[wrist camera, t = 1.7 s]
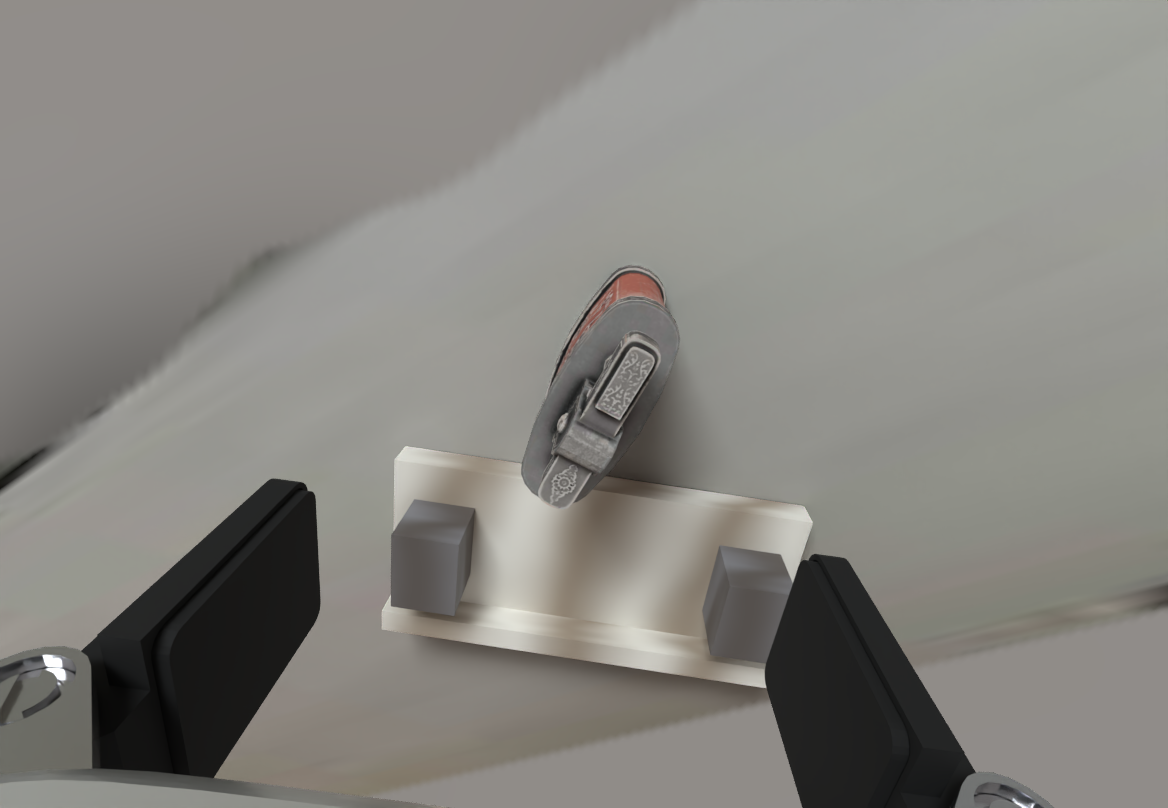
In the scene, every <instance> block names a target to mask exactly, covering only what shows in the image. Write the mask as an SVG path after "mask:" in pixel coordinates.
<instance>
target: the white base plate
mask: <svg viewBox="0 0 1168 808" xmlns="http://www.w3.org/2000/svg"><path fill="white" fill-rule="evenodd" d="M521 465H522V463H515V462H508V461H502V460H495V459H488V458H482V457H475V456H468V455H462V454H455V453H448V452H442V451H435V450H429V449H422V448H415V447H409V446H405V447H404V449H403V450H402V451H401V452H400V454H399V455H398V456H397V457H396V459H395V468H394V532H393V533H392V535H391V595H390V597H389V599H388V601H387V602H386V604H385V606H384V608H383V610H382V629H383V630H389V631H396V632H402V633H409V634H415V635H422V636H428V637H435V638H441V639H448V640H454V641H461V642H467V643H474V644H480V645H487V646H493V647H500V648H507V649H513V650H520V651H526V652H533V653H539V654H546V655H552V656H559V657H565V658H572V659H578V660H585V661H591V662H598V663H604V664H611V665H618V666H624V667H631V668H637V669H644V670H650V671H657V672H663V673H670V674H676V675H683V676H689V677H696V678H702V679H709V680H715V681H722V682H729V683H735V684H742V685H748V686H755V687H761V688H766V684H765V666H766V662H767V659H768V656H769V653H770V650H771V647H772V644H773V641H774V638H775V635H776V632H777V629H778V626H779V623H780V620H781V617H782V614H783V611H784V608H785V605H786V602H787V599H788V596H789V593H790V591H791V588H792V585H793V581H794V578H795V575H796V572H797V569H798V566H799V563H800V560H801V557H802V554H803V551H804V548H805V545H806V542H807V539H808V536H809V533H810V530H811V527H812V524H813V522H812V520H811V518H810V516H809V515H808V513H807V511H806V509H805V507H804V506H801V505H794V504H788V503H781V502H774V501H768V500H761V499H754V498H748V497H741V496H735V495H728V494H721V493H715V492H708V491H701V490H695V489H688V488H681V487H675V486H668V485H661V484H655V483H648V482H641V481H635V480H628V479H621V478H615V477H608V476H605V477H604V478H603V479H602V480H601V481H600V482H599V483H598V484H597V485H596V486H595V487H594V488H593V490H592V491H591V492H590V493H589V494H588V495H587V496H586V497H584V498H583V499H581V500H580V501H578V502H575V503H573V504H572V505H571V506H570V507H568V508H566V509H556V508H554V507H551V506H549V505H547V504H546V503H544V502H543V501H541V499H540V498H539V497H538V496H536V495H535V494H533V493H532V492H531V491H530V490H529V488H528V487H527V486H526V485H525V483H524V481H523V478H522V475H521Z"/></svg>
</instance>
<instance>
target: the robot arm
mask: <svg viewBox="0 0 1168 808" xmlns="http://www.w3.org/2000/svg"><path fill="white" fill-rule="evenodd" d="M319 610H320V582H319V561H318V540H317V519H316V499H315V495H314V493H313V492H311V491H307V487H306V485H305V484H304V483H303V482H295V481H288V480H281V479H270V480H269V481H267V482H266V483H265V484H264V485H263V486H262V487H261V488H259V489H258V490H257V491H256V492H255V493H254V494H253V495H252V496H251V497H249V498H248V499H247V500H246V501H245V502H244V503H243V504H242V505H241V506H239V507H238V508H237V509H236V510H235V511H234V512H233V513H232V514H231V515H230V516H228V517H227V518H226V519H225V520H224V521H223V522H222V523H221V524H220V525H218V526H217V527H216V528H215V529H214V530H213V531H212V532H211V533H210V534H209V535H207V536H206V537H205V538H204V539H203V540H202V541H201V542H200V543H199V544H197V545H196V546H195V547H194V548H193V549H192V550H191V551H190V552H189V553H188V554H186V555H185V556H184V557H183V558H182V559H181V560H180V561H179V562H178V563H176V564H175V565H174V566H173V567H172V568H171V569H170V570H169V571H168V572H166V573H165V574H164V575H163V576H162V577H161V578H160V579H159V580H158V581H157V582H155V583H154V584H153V585H152V586H151V587H150V588H149V589H148V590H147V591H145V592H144V593H143V594H142V595H141V596H140V597H139V598H138V599H137V600H136V601H134V602H133V603H132V604H131V605H130V606H129V607H128V608H127V609H126V610H124V611H123V612H122V613H121V614H120V615H119V616H118V617H117V618H116V619H115V620H113V621H112V622H111V623H110V624H109V625H108V626H107V627H106V628H105V629H103V630H102V631H101V632H100V633H99V634H98V635H97V637H96V638H95V639H94V640H93V641H92V642H91V643H90V644H88V645H87V646H86V647H85V648H84V649H83V650H82V651H80V650H78V649H74V648H69V647H65V646H56V647H42V648H37V649H32V650H28V651H23V652H20V653H18V654H15V655H12V656H9V657H7V658H4V659H1V660H0V808H447V807H441V806H433V805H425V804H418V803H410V802H402V801H395V800H386V799H379V798H371V797H363V796H356V795H348V794H340V793H332V792H324V791H316V790H309V789H301V788H293V787H285V786H277V785H269V784H262V783H253V782H244V781H235V780H225V779H216V778H214V776H215V775H216V773H217V772H218V770H219V769H220V767H221V765H222V764H223V762H224V761H225V759H226V758H227V756H228V755H229V753H230V752H231V750H232V749H233V747H234V746H235V744H236V743H237V741H238V740H239V738H240V736H241V735H242V733H243V732H244V730H245V729H246V727H247V726H248V724H249V723H250V721H251V720H252V718H253V717H254V715H255V714H256V712H257V710H258V709H259V707H260V706H261V704H262V703H263V701H264V700H265V698H266V697H267V695H268V694H269V692H270V691H271V689H272V688H273V686H274V685H275V683H276V681H277V680H278V678H279V677H280V675H281V674H282V672H283V671H284V669H285V668H286V666H287V665H288V663H289V662H290V660H291V659H292V657H293V656H294V654H295V652H296V651H297V649H298V648H299V646H300V645H301V643H302V642H303V640H304V639H305V637H306V636H307V634H308V633H309V631H310V630H311V628H312V627H313V625H314V623H315V621H316V619H317V617H318V614H319ZM765 684H766V688H767V691H768V694H769V698H770V701H771V704H772V707H773V711H774V714H775V717H776V721H777V724H778V728H779V731H780V734H781V737H782V741H783V744H784V747H785V751H786V754H787V757H788V760H789V764H790V767H791V771H792V774H793V777H794V781H795V784H796V787H797V791H798V794H799V797H800V801H801V804H802V807H803V808H1054V807H1053V806H1052V805H1051V804H1050V803H1049V802H1048V801H1046V800H1045V799H1044V798H1042V797H1041V796H1039V795H1038V794H1037V793H1035V792H1034V791H1033V790H1031V789H1030V788H1028V787H1026V786H1024V785H1022V784H1021V783H1019V782H1017V781H1015V780H1013V779H1011V778H1009V777H1005V776H1002V775H999V774H996V773H991V772H977V773H976V772H975V770H974V769H973V767H972V766H971V764H970V762H969V761H968V759H967V757H966V756H965V754H964V751H963V750H962V748H961V746H960V745H959V743H958V741H957V740H956V738H955V736H954V735H953V733H952V731H951V730H950V728H949V726H948V725H947V723H946V722H945V720H944V718H943V717H942V715H941V713H940V712H939V710H938V708H937V707H936V705H935V703H934V702H933V700H932V698H931V697H930V695H929V694H928V692H927V690H926V689H925V687H924V685H923V684H922V682H921V680H920V679H919V677H918V675H917V674H916V672H915V670H914V669H913V667H912V666H911V664H910V662H909V661H908V659H907V657H906V656H905V654H904V652H903V651H902V649H901V647H900V646H899V644H898V642H897V641H896V639H895V638H894V636H893V634H892V633H891V631H890V629H889V628H888V626H887V624H886V623H885V621H884V619H883V618H882V616H881V614H880V613H879V611H878V610H877V608H876V606H875V605H874V603H873V601H872V600H871V598H870V596H869V595H868V593H867V591H866V590H865V588H864V586H863V585H862V583H861V582H860V580H859V578H858V577H857V575H856V573H855V572H854V570H853V568H852V567H851V565H850V563H849V562H848V561H847V560H846V559H845V558H841V557H833V556H826V555H819V554H814V555H812V556H811V557H810V558H809V561H807V560H803V561H802V562H801V563H800V565H799V567H798V570H797V573H796V576H795V579H794V582H793V585H792V588H791V591H790V593H789V596H788V599H787V602H786V605H785V608H784V611H783V614H782V617H781V620H780V623H779V626H778V629H777V632H776V635H775V638H774V641H773V644H772V647H771V650H770V653H769V656H768V659H767V662H766V666H765Z"/></svg>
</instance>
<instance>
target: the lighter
mask: <svg viewBox="0 0 1168 808" xmlns="http://www.w3.org/2000/svg"><path fill="white" fill-rule="evenodd" d="M665 301H666V296H665V291H664V287H663V285H662V283H661V281H660V280H659V278H658V277H657V276H656V275H655V274H654V273H653V272H651V271H650V270H649V269H646V268H644V267H641V266H634V265H628V266H625V267H621V268H619V269H618V270H616V271H615V272H614V273H612V275H611V276H610V277H609V278H608V279H607V281H606V282H605V283H604V284H603V285H602V287H601V288H600V289H599V290H598V291H597V293H596V294H595V295H594V296H593V297H592V299H591V300H590V301H589V303H588V304H587V306H586V307H585V309H584V310H583V312H582V313H581V315H580V316H579V318H578V320H577V321H576V323H575V324H574V326H573V327H572V329H571V330H570V333H569V335H568V337H567V339H566V341H565V344H564V346H563V348H562V350H561V352H560V355H559V357H558V359H557V361H556V364H555V367H554V370H553V373H552V377H551V380H550V383H549V386H548V389H547V393H546V396H545V400H544V402H543V404H542V406H541V408H540V411H539V413H538V415H537V417H536V420H535V423H534V425H533V428H532V432H531V435H530V438H529V441H528V445H527V448H526V451H525V454H524V458H523V461H522V465H521V475H522V478H523V481H524V483H525V485H526V486H527V487H528V488H529V490H530V491H531V492H532V493H533V494H535V495H536V496H538V497H539V498H540V499H541V501H543V502H544V503H546V504H547V505H549V506H551V507H554V508H556V509H566V508H568V507H570V506H571V505H572V504H573V503H575V502H578V501H580V500H581V499H583V498H584V497H586V496H587V495H588V494H589V493H590V492H591V491H592V490H593V488H594V487H595V486H596V485H597V484H598V483H599V482H600V481H601V480H602V479H603V478H604V477H605V476H606V475H607V474H608V473H609V472H610V471H611V470H612V469H613V468H614V467H615V465H616V464H617V463H618V461H619V460H620V459H621V457H622V456H623V455H624V453H625V452H626V451H627V449H628V448H629V447H630V445H631V444H632V443H633V441H634V440H635V439H636V437H637V436H638V435H639V433H640V432H641V430H642V428H643V426H644V424H645V422H646V421H647V419H648V417H649V415H650V413H651V411H652V410H653V408H654V406H655V404H656V402H657V400H658V399H659V397H660V395H661V393H662V390H663V388H664V385H665V383H666V380H667V378H668V375H669V373H670V370H671V368H672V365H673V363H674V360H675V357H676V355H677V352H678V349H679V343H680V336H679V332H678V328H677V324H676V322H675V320H674V318H673V317H672V315H671V314H670V312H669V311H668V309H666V308H665Z"/></svg>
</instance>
